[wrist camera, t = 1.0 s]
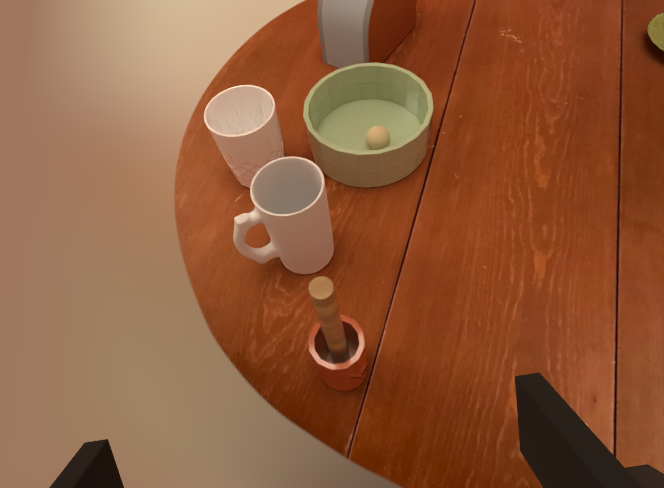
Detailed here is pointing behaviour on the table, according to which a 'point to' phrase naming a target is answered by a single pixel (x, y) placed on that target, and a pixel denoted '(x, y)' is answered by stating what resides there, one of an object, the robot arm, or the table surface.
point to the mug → (289, 216)
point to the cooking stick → (329, 317)
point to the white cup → (245, 129)
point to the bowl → (368, 123)
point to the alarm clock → (362, 29)
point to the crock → (340, 373)
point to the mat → (657, 30)
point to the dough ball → (377, 137)
